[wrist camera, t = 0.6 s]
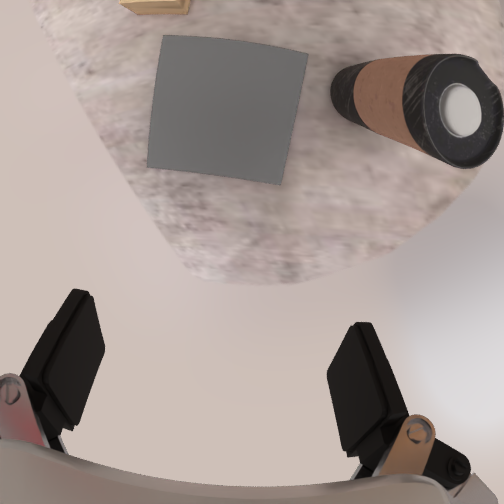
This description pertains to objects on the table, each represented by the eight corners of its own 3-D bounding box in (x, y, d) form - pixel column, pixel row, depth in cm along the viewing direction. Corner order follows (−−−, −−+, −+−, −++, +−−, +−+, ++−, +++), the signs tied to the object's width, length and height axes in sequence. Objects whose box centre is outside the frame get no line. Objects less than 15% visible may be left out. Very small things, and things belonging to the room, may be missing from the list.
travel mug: (335, 129, 32) (426, 179, 15) (321, 67, 29) (409, 49, 11) (391, 120, 31) (506, 164, 14) (380, 61, 28) (498, 56, 10)
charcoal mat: (165, 36, 26) (163, 35, 25) (306, 54, 28) (308, 53, 27) (149, 165, 34) (146, 167, 33) (279, 182, 36) (280, 185, 35)
